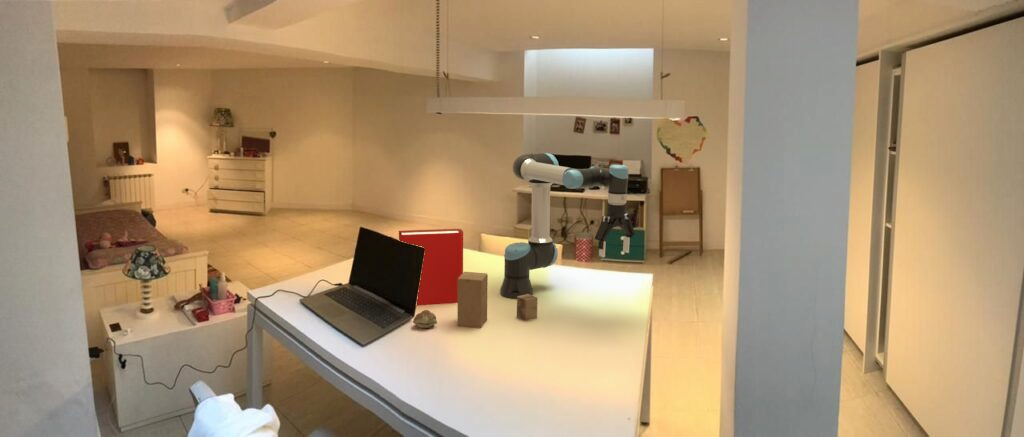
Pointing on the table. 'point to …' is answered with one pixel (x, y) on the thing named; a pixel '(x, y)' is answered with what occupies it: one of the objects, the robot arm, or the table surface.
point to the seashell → (425, 319)
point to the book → (438, 263)
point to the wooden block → (472, 299)
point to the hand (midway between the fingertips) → (614, 254)
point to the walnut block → (527, 307)
